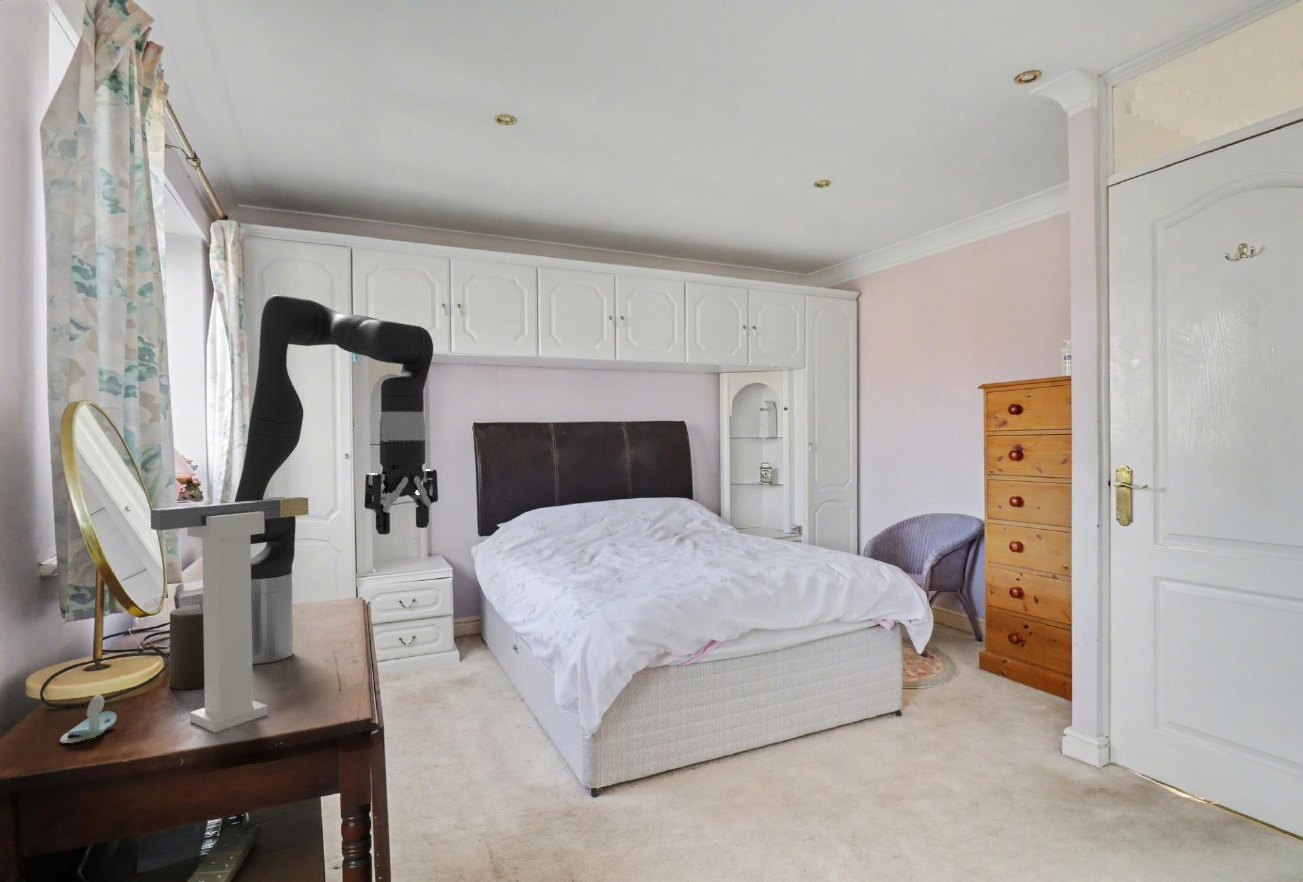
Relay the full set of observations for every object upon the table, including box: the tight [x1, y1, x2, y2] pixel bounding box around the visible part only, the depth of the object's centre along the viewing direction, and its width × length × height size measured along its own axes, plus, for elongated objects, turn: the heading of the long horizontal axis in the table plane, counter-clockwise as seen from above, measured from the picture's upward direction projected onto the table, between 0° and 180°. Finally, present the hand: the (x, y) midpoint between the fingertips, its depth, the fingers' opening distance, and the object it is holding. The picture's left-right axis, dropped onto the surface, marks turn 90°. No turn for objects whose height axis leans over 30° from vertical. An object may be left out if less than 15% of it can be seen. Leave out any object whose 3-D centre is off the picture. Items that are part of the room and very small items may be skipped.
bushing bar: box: [150, 496, 309, 531], centre depth 112 cm, size 3×23×3 cm, turn 147°
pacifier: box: [59, 694, 117, 744], centre depth 105 cm, size 7×6×6 cm
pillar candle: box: [168, 601, 205, 691], centre depth 128 cm, size 10×10×15 cm
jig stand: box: [186, 511, 268, 733], centre depth 111 cm, size 8×8×34 cm
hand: (403, 530), depth 119 cm, fingers open, 8 cm apart
